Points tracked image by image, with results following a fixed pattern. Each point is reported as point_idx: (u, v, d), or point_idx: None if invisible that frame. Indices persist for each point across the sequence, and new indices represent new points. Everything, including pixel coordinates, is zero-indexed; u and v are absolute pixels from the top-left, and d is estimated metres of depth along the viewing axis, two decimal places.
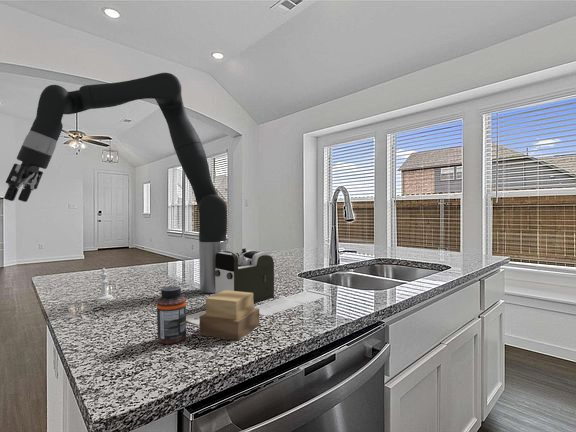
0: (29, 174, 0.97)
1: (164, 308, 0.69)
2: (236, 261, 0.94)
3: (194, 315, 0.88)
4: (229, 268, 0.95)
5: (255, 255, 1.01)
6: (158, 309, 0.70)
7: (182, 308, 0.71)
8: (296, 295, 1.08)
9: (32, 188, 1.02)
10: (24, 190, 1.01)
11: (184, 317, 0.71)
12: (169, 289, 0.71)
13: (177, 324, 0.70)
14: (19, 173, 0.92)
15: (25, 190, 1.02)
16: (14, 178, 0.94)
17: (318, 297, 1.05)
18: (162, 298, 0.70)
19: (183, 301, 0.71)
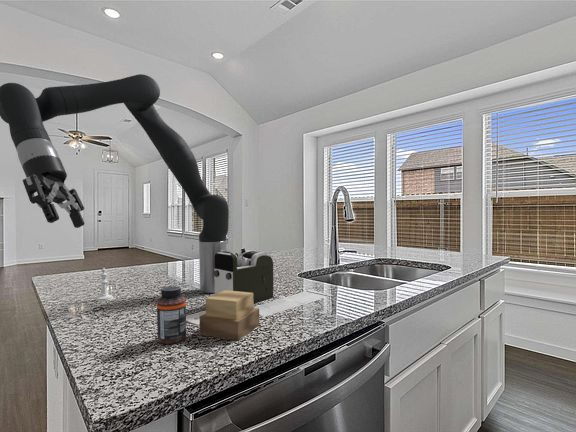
0: (52, 185, 0.74)
1: (164, 308, 0.69)
2: (235, 261, 0.94)
3: (194, 315, 0.88)
4: (228, 268, 0.95)
5: (254, 255, 1.01)
6: (158, 309, 0.70)
7: (182, 308, 0.71)
8: (296, 295, 1.07)
9: (77, 207, 0.79)
10: (72, 215, 0.79)
11: (184, 317, 0.71)
12: (169, 289, 0.71)
13: (177, 324, 0.70)
14: (34, 183, 0.69)
15: (73, 214, 0.79)
16: None
17: (317, 297, 1.05)
18: (162, 298, 0.70)
19: (183, 301, 0.71)
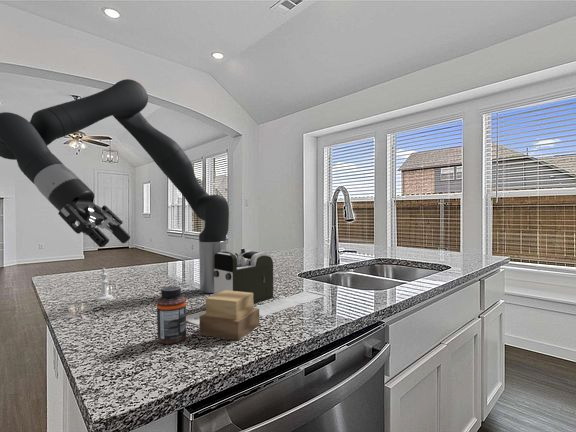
0: (87, 209, 0.70)
1: (164, 308, 0.69)
2: (235, 261, 0.93)
3: (194, 315, 0.88)
4: (228, 269, 0.94)
5: (254, 255, 1.00)
6: (158, 309, 0.70)
7: (182, 308, 0.71)
8: (296, 296, 1.07)
9: (116, 223, 0.76)
10: (115, 232, 0.76)
11: (184, 317, 0.71)
12: (169, 289, 0.71)
13: (177, 324, 0.70)
14: (71, 213, 0.65)
15: (115, 231, 0.76)
16: None
17: None
18: (162, 298, 0.70)
19: (183, 301, 0.71)
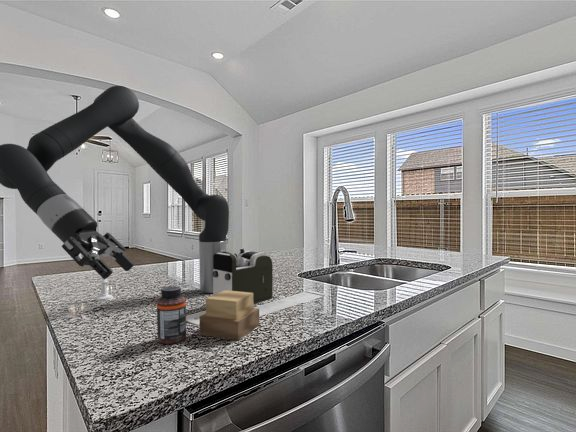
0: (90, 240, 0.70)
1: (164, 308, 0.69)
2: (234, 262, 0.93)
3: (194, 315, 0.88)
4: (227, 269, 0.94)
5: (253, 256, 1.00)
6: (158, 309, 0.70)
7: (182, 308, 0.71)
8: (295, 296, 1.07)
9: (119, 250, 0.76)
10: (118, 259, 0.76)
11: (184, 317, 0.71)
12: (169, 289, 0.71)
13: (177, 324, 0.70)
14: (75, 246, 0.65)
15: (118, 258, 0.76)
16: None
17: None
18: (162, 298, 0.70)
19: (183, 301, 0.71)
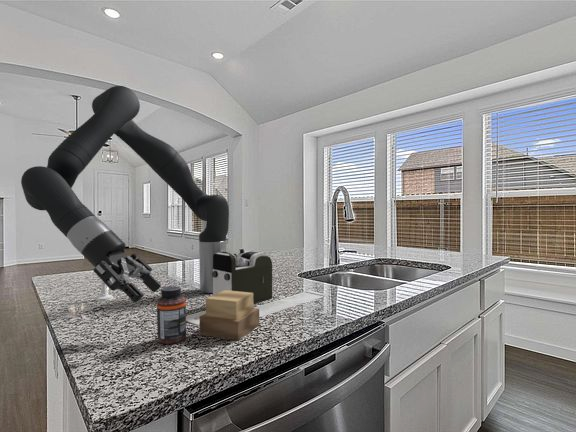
0: (120, 263, 0.70)
1: (164, 308, 0.69)
2: (234, 262, 0.93)
3: (194, 315, 0.88)
4: (227, 269, 0.94)
5: (253, 256, 1.00)
6: (158, 309, 0.70)
7: (182, 308, 0.71)
8: (295, 296, 1.06)
9: (147, 271, 0.76)
10: (145, 280, 0.76)
11: (184, 317, 0.71)
12: (169, 289, 0.71)
13: (176, 324, 0.70)
14: (107, 270, 0.65)
15: (146, 279, 0.76)
16: (116, 280, 0.68)
17: (317, 298, 1.04)
18: (162, 298, 0.70)
19: (183, 301, 0.71)
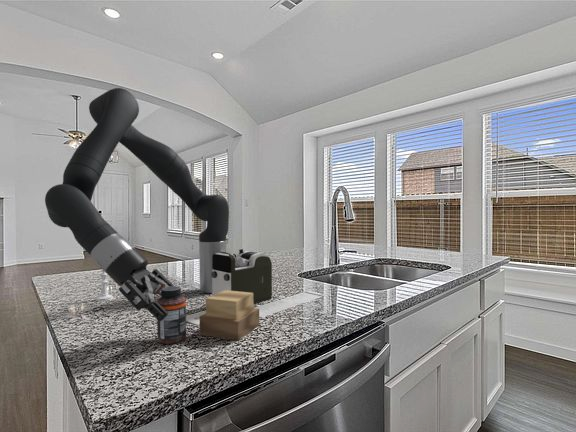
0: (144, 281, 0.70)
1: (164, 308, 0.69)
2: (233, 262, 0.92)
3: (194, 315, 0.88)
4: (226, 269, 0.93)
5: (253, 256, 0.99)
6: None
7: (182, 308, 0.71)
8: (294, 296, 1.06)
9: None
10: None
11: (184, 317, 0.71)
12: (169, 289, 0.71)
13: (176, 324, 0.70)
14: (132, 290, 0.65)
15: None
16: (140, 299, 0.68)
17: None
18: (162, 298, 0.70)
19: (183, 301, 0.71)
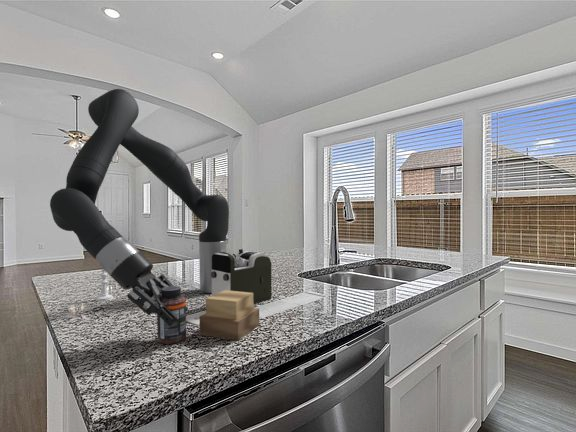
0: (150, 285, 0.70)
1: None
2: (233, 262, 0.92)
3: (194, 315, 0.88)
4: (225, 269, 0.93)
5: (252, 256, 0.99)
6: None
7: (182, 308, 0.71)
8: (294, 297, 1.06)
9: None
10: None
11: (184, 317, 0.71)
12: (169, 289, 0.71)
13: (177, 324, 0.70)
14: (142, 296, 0.65)
15: None
16: (149, 304, 0.68)
17: (316, 299, 1.03)
18: (162, 298, 0.70)
19: (183, 301, 0.71)
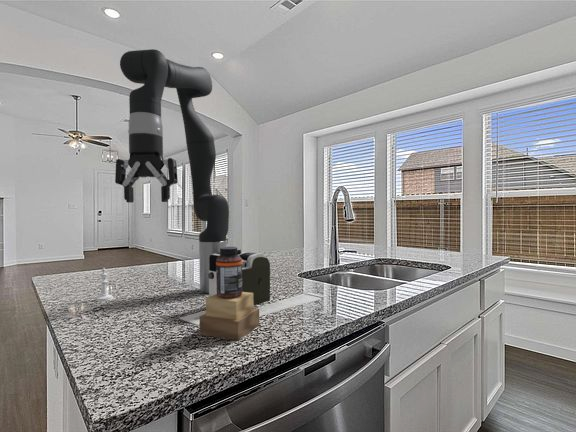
0: None
1: (225, 265, 0.74)
2: None
3: (194, 315, 0.88)
4: None
5: (250, 257, 0.98)
6: (218, 266, 0.75)
7: (240, 265, 0.76)
8: (293, 298, 1.04)
9: None
10: (130, 188, 0.80)
11: (241, 274, 0.77)
12: (228, 248, 0.76)
13: (235, 280, 0.75)
14: (176, 168, 0.81)
15: (130, 188, 0.80)
16: (161, 175, 0.79)
17: None
18: (222, 256, 0.75)
19: (240, 259, 0.77)
